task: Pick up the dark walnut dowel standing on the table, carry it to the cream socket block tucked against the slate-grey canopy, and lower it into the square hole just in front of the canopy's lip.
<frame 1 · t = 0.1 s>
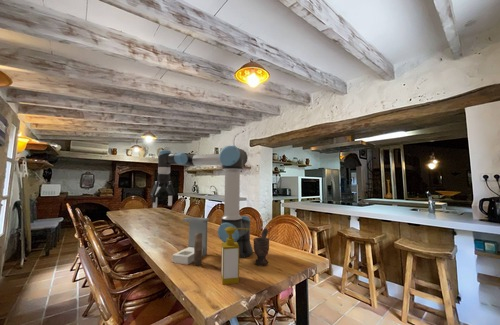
hand: (162, 206, 138), 28 cm above the table, fingers open, 13 cm apart
soap bottle: (235, 279, 97), on the table
walnut dowel: (197, 264, 114), on the table
mortar and pestle: (263, 265, 115), on the table
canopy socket: (189, 257, 124), on the table
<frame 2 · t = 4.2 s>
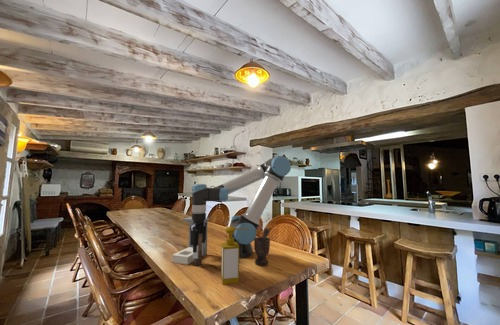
hand: (197, 256, 115), 4 cm above the table, fingers closed on walnut dowel, 4 cm apart
walnut dowel: (197, 264, 114), on the table, touching gripper
mortar and pestle: (263, 264, 115), on the table, touching arm
everything else where it was.
when the fingers open (6 cm above the table, at t = 10.5 s): walnut dowel drops 1 cm, resting in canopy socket.
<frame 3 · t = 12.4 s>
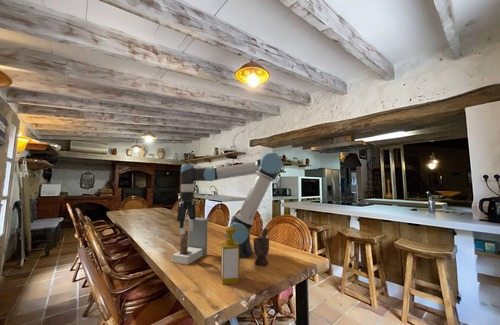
hand: (186, 232, 121), 16 cm above the table, fingers open, 7 cm apart
walnut dowel: (183, 260, 120), resting in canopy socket
mortar and pestle: (263, 265, 115), on the table
everything else where it was.
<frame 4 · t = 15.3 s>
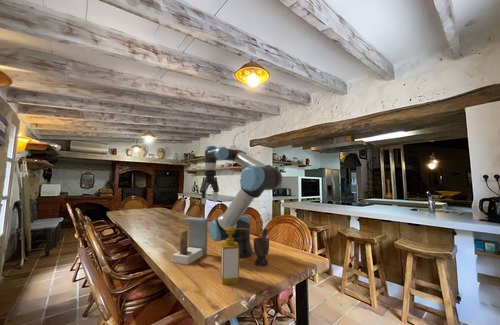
hand: (209, 202, 137), 31 cm above the table, fingers open, 13 cm apart
nothing on the table moved.
at the end: walnut dowel 1.1 cm from the target spot on the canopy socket, point 0.0 cm above the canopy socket's base; walnut dowel tilted 1°; the gripper is holding nothing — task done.
